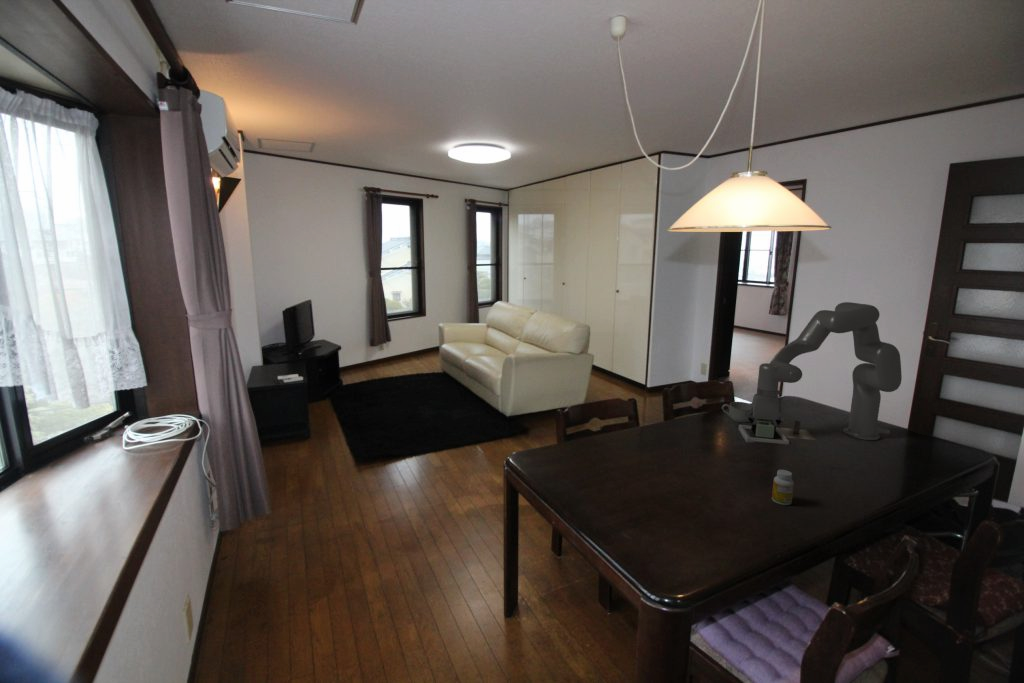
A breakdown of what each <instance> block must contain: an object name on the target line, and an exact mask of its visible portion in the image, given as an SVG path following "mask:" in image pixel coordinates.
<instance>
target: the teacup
mask: <svg viewBox="0 0 1024 683" xmlns="http://www.w3.org/2000/svg"><path fill="white" fill-rule="evenodd" d="M751 406H752V403H748V402H745V401H732V402H730V404H728V403H723V404H722V406H721V410H722V412H723V413H724V414H726V415H727V416H728V417H730V418H731V420H732V421H734V422H735V423H738V424H742V423H751V422H750V421H749V420H748V419H747V417H746V416H745V415H744V414H745V413H746V412H748V411H749V410H751ZM725 407H727V408H728V410H729V412H728V411H726V409H725ZM749 416H750V417H751V418H753V415H751V414H750V415H749Z"/></svg>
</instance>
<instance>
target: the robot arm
mask: <svg viewBox="0 0 1024 683" xmlns="http://www.w3.org/2000/svg"><path fill="white" fill-rule="evenodd" d="M879 319H880V311H879V309H878V308H877V307H876V306H874V305H872V304H868V303H867V304H866V303H858V302H850V301H843V302H841V303H838V304H837V305H836V306H835V307H834V310H831V309H830V310H828V309H824V310H823V309H821V310H818V311H817V312H816V313H815V314H814V315H813V316H812V318H811V319H810V320H809V322H808V323H807V324H806V326H805V327H804V329H803V330H802V331H801V333H800V334H799V336H798V337H797V338H796V339H795V340H792V341H791V342H789V343H788V344H786V345H785V346H783V347H781V349H779V350H778V351H777V353H776V354H775V355H774V356H773V358H772V359H771V361H770V362H769V363H761V364H760V365H759V367H758V378H757V389H756V393H755V394H754V395H753V398H752V402H751V405H752V406H751V410H749V411H748V412H746V413H745V414H744V415H745V416H746V417H747V419H748V420H749V421H750V422H749V423H751V426H752V427H751V429H750V430H751V431H752V433H753V434H754V435H755V434H756V422H757V421H759V420H764V421H770V422H771V423H772V424H773V425H774V427H775V428H774V434H776V433H777V432H776V428H777V426H778V425H780V424H781V423H782V422H784V421H785V420H786V416H784V414H782V413H781V412H780V399H779V396H778V395H782V390H779V383H788V384H792V383H793V384H794V383H798V382H799V381H801V379H802V378H803V371H802V369H800V368H799V367H798V366H797V365H795V364H791V362H792V361H793V360H794V359H795V358H796V357H799V356H801V355H805V354H807V353H811V352H815V351H817V350H819V349H820V347H821V346H822V344H823V343H824V342H825V340H826V339H827V338H828V336H829V335H830V334H831V333H835V334H844V333H845V334H846V333H849V332H852V337H853V348H854V349H853V350H854V355H855V357H856V359H857V360H859V361H861V362H863V363H860V364H857V365H856V366H854V368H853V370H852V374H851V377H852V385H853V386H852V396H851V403H850V409H849V410H850V411H849V419H848V426H847V427H845V428H843V431H842V433H844V434H845V435H847V437H851V438H854V439H859V440H864V441H877V440H880V439H881V434H884V435H889V434H890V432H891V431H890V430H889V429H886V428H885V429H884V428H883V427H878V426H877V425H878V418H879V413H880V406H881V401H882V400H881V398H882V397H881V392H885V393H892V392H895V391H897V390H898V389H899V387H900V386H901V384H902V362H901V354H900V351H899V349H898V348H897V347H896V346H895V345H893V344H892V343H889V342H884V341H881V339H880V334H879V326H878V324H877V321H879ZM880 391H881V392H880ZM750 414H751V415H753V418H751V417H750V416H749V415H750Z"/></svg>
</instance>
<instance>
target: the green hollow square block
mask: <svg viewBox="0 0 1024 683" xmlns="http://www.w3.org/2000/svg"><path fill="white" fill-rule="evenodd" d="M774 428H775V427H774V425H773V424H772V421H771V420H758V421H757V422H756V434H754V435H755V436H756V438H767V439H774V435H775V433H774Z"/></svg>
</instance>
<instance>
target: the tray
mask: <svg viewBox="0 0 1024 683" xmlns="http://www.w3.org/2000/svg"><path fill="white" fill-rule="evenodd" d="M751 427H752V425H748V424H747V425H746V424H745V425H744V424H738V431H739V433H740V435H741V436H742V437H743V439H744V440H745V442H746V443H747V444H755V442H758V443H769V444H770V443H771V444H781V445H790V440H789V438H786V437H785V436H784V435H783V433H782V432H781V431H780V430H779V429H778V428H779V427H778V428H777V427H776V432H775V433H777V434H778V436H779V437H781V439H774V438H765V437H752V436H750V434H749V432H748V431H747V430H751ZM746 429H747V430H746Z"/></svg>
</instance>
